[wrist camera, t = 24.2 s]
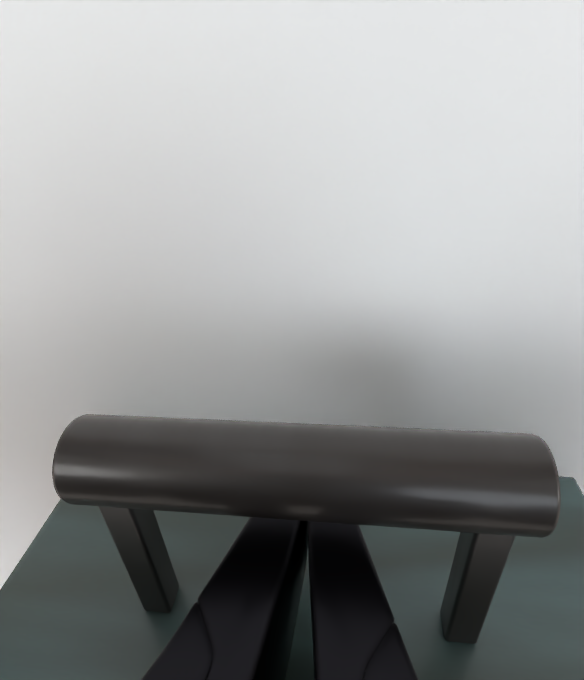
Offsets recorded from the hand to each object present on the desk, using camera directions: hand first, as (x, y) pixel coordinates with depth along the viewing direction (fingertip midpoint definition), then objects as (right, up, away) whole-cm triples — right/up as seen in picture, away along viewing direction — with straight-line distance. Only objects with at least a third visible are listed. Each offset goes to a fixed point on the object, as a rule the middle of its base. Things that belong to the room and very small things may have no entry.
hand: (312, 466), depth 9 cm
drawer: (0, -4, +5) cm, 7 cm away
